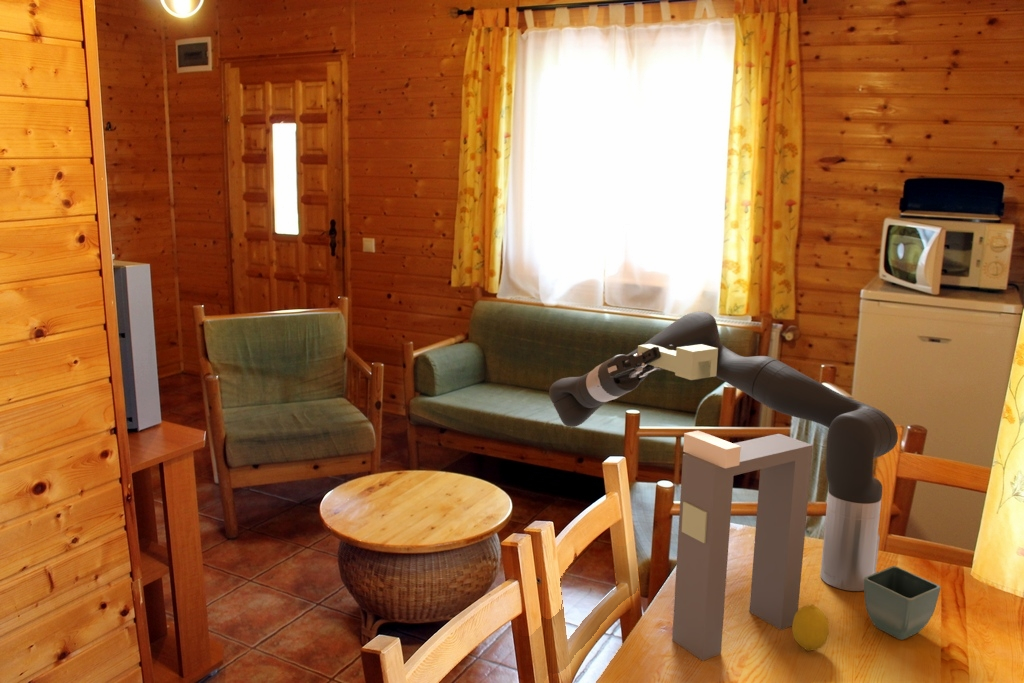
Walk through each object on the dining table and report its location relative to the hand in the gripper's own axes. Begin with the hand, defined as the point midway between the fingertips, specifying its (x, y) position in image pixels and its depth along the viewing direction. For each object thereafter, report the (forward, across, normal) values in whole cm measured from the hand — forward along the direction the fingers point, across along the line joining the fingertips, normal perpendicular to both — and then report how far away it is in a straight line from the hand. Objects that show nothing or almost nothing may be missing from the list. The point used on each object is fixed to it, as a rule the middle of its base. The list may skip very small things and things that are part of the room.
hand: (665, 350), depth 154 cm
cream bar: (+15, +12, -22) cm, 29 cm away
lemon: (+8, -3, -55) cm, 55 cm away
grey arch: (-1, +3, -50) cm, 50 cm away
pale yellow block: (0, 0, -4) cm, 4 cm away
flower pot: (+11, -21, -56) cm, 61 cm away
